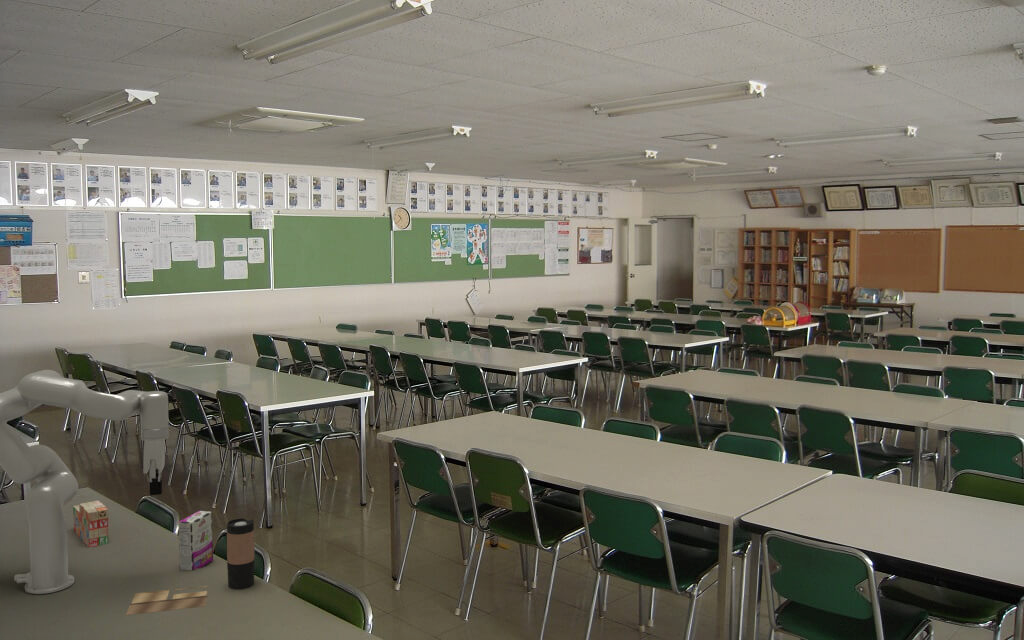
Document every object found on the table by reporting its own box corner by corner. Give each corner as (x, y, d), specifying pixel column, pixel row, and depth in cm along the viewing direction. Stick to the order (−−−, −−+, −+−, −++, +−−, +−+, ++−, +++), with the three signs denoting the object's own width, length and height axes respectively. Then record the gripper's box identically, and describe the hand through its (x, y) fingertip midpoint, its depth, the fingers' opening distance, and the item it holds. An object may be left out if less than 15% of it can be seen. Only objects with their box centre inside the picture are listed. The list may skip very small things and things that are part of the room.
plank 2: (172, 603, 221) (172, 598, 220) (175, 593, 227) (174, 589, 227) (206, 599, 223) (206, 595, 223) (208, 590, 230) (208, 585, 230)
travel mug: (229, 595, 226) (228, 527, 225) (225, 585, 233) (224, 520, 231) (256, 590, 230) (256, 524, 228) (252, 581, 236) (251, 516, 235)
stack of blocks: (73, 531, 278) (72, 497, 277) (93, 527, 282) (92, 494, 282) (88, 548, 262) (87, 512, 261) (109, 543, 266) (108, 508, 266)
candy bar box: (199, 559, 253) (198, 510, 252) (213, 561, 252) (213, 511, 251) (178, 573, 242) (177, 521, 241) (192, 574, 241) (192, 522, 240)
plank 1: (131, 607, 217) (131, 603, 217) (135, 597, 224) (135, 593, 224) (166, 603, 220) (166, 599, 220) (169, 593, 227) (169, 589, 227)
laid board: (125, 619, 210) (125, 614, 210) (130, 608, 217) (130, 603, 217) (205, 610, 216) (205, 605, 216) (207, 599, 223) (207, 595, 223)
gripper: (144, 428, 237) (145, 488, 239) (137, 439, 223) (138, 502, 224) (171, 427, 240) (172, 486, 241) (165, 438, 225) (166, 500, 227)
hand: (156, 494), depth 233 cm, fingers closed
